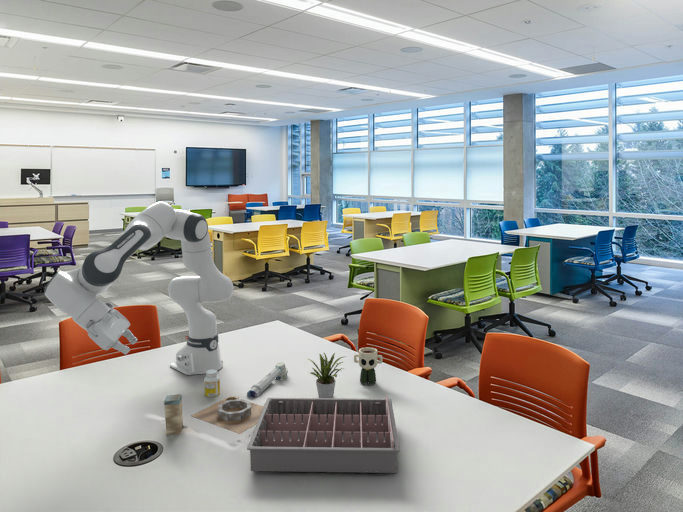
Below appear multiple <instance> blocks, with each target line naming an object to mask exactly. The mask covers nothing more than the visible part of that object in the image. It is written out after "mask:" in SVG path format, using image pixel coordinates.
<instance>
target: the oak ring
mask: <svg viewBox="0 0 683 512" xmlns="http://www.w3.org/2000/svg"><path fill="white" fill-rule="evenodd" d="M223 399H224V402H225V401H227V400H228V401H229V400H235V399H240V397H239V396H236V395H229V396H227V397H224V398H223Z"/></svg>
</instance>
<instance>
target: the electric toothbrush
mask: <svg viewBox="0 0 683 512" xmlns="http://www.w3.org/2000/svg"><path fill="white" fill-rule="evenodd" d="M288 373H289V370H288V368H287V367H286V364H285V363H284V361H279V362H277V363H276V364H275V368H273V369H272V370H271V371H270V372H269V373H268V374H267V375H266V376H264V377H263V378H262V379H260V380H259V381H258V382H257V383H256V384H253V385H252V386H251V387H250V390H249V389H248V391H247V393H246V396H247V397H251V398H257V397H259V396H260V395H262V394H263V392H264V391H265V390H266V389H267V388H268V387H269V386H270V385H271V383H273V382H274V381H275V380H277V379H283V380H285V378H286V377H287V378H288ZM275 378H276V379H275ZM287 378H286V379H287Z"/></svg>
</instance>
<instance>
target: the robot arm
mask: <svg viewBox="0 0 683 512" xmlns="http://www.w3.org/2000/svg"><path fill="white" fill-rule="evenodd" d="M164 237H166V238H169V239H170V240H176V241H177V240H178V241H180V245H181V247H180V248H181V252H182V253H181V254H182V261H183V265H184V268H186V270H188V271H189V272H192V273H193V274H196V275H183V276H178V277H175V278H172V279H170V280H171V281H170V282H169V283H168V285H167V294H168V296H169V298H170V300H171V301H173V302H174V303H175V304H177V305H178V306H180V308H181V309H182V310H183V313H185V315H186V319H187V324H188V335H187V336H185V337H184V339H185V340H186V343H185V344H184V345H183V346H182V347H181V348H180V349H179V350H177V351H176V355H175V360H174V361H173V362H171V363H170V364H169V366H170V368H172V369H175V370H176V371H178V372H180V373H182V374H184V375H186V376H192V375H206V371H208V370H212V369H214V370H217V371H219V370H221V369H222V368H223V359H222V358H221V357H222V355H221V349H220V345H219V334H218V331H217V330H218V327H217V326H218V325H217V323H218V322H217V316H216V314H214V312H212V311H210V310H209V309H206V308H204V306H203V305H202V303H219V302H225V301H228V300H229V299H231V298H232V296H233V293H234V284H233V281H232V279H231V278H230V277H229V276H227V275H225V274H223V273H222V272H221V271H220V270H219V268H217V266H216V265H215V261H214V258H213V251H212V243H211V237H210V233H209V223H208V222H207V220H206V218H205V216H203V215H202V214H199V213H195V212H191V211H190V210H189V211H188V210H184V209H177V208H174V207H173V206H172V205H171V204H169V203H168V202H165V201H157V202H155V203H153V204H151V205H150V206H148V207H147V208H145V209H143V210H141V211H140V212H139V213H138V214H137V215H136V216H135V217H134V218H133V219H132V220H131V221H130V222H129V223H128V224H127V225H126V228H125V229H124V232H123V234H122V235H120V236H119V237H117V239H116V240H115V241H114V242H112V243H111V244H110V245H108V246H107V247H104V248H101V249H98V250H94V251H92V252H90V253H89V254H88V255H86V257H85V259H84V260H83V263H82V265H81V266H80V267H78V268H75V269H71V270H67V271H58V272H56V273H55V274H54V275H52V276H51V278H50V279H49V281H48V283H47V284H46V285H45V287H44V290H43V291H44V292H43V293H44V296H45V297H46V298H47V299H48V300H49V301H50V303H52V304H53V306H55V307H56V308H57V309H58V310H59V311H61V312H62V313H64V314H66V315H68V316H69V317H70V318H71V319H72V320H73V322H74V323H76V324H77V325H78V326H79V327H80V328H82V329H83V330H85V331H86V332H87V335H88V337H89V338H90V339H91V340H92V341H93V342H94V343H95V344H96V345H97V346H99V347H100V348H101V349H102V350H104V351H109V350H110V349H111V348H112V349H114V350H115V351H119V352H121V353H122V354H123V355H124V356H125V355H127V354H128V353H130V351H131V348H130V347H129V346H128V345H124V344H123V343H121V341H120V340H119V339H120V338H121V337H122V336H123V337H125V338H126V339H127V340H128V343H130V344H131V345H135V344H136V343H137V342H138V338H137V337H136V336H135V334H134V333H132V331H131V330H130V329H129V327H130V326H131V323H130V321H129V320H128V318H127V317H125V316H124V315H123V314H122V313H120V312H119V310H117V309H116V308H115V306H114V305H113V304H112V303H111V302H104V301H101V300H100V299H99V298H98V297H99V296H101V295H103V294H104V293H106V292H107V290H108V289H109V288H110V287H111V285H112V284H113V283H114V282H115V281H116V280H117V279H118V278H119V277H120V275H121V273H122V270H123V268H124V267H123V266H124V264H125V263H126V261H127V260H128V259H130V258H131V257H132V256H133V255H134V254H135V253H136V252H137V251H138V250H140V251H148V250H149V249H151V248H153V247H154V246H156V245H157V244H158V243H159V242H160V241H162V240H163V238H164Z"/></svg>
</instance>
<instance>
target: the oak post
mask: <svg viewBox="0 0 683 512" xmlns="http://www.w3.org/2000/svg"><path fill="white" fill-rule="evenodd" d="M182 399H183V395H182V393H179V394H167V395H165V399H164V401H163V405H164V417H165V420H164V421H165V422H164V423H165V435H166V436H172V435H173V436H175V435H182V432H183V429H184V418H183V417H184V416H183V400H182Z"/></svg>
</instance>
